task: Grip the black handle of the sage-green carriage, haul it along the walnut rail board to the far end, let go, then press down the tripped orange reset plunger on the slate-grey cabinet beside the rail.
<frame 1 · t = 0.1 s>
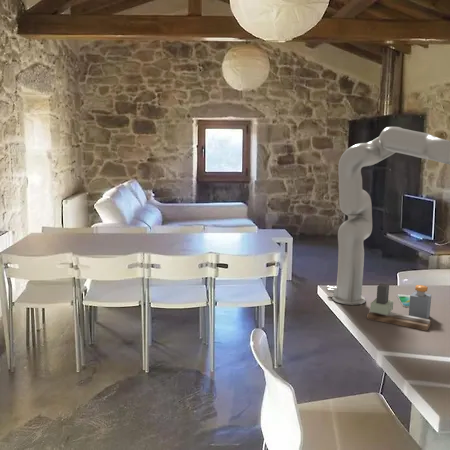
reset plunger: (421, 293, 186), point 8 cm above the table, slide at 0.0 cm
carriage: (382, 298, 185), point 7 cm above the table, slide at 0.0 cm
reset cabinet: (419, 316, 188), on the table
rail board: (398, 321, 183), on the table
smartphone: (408, 302, 205), on the table
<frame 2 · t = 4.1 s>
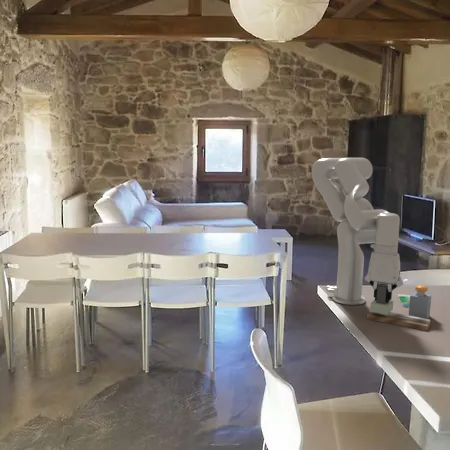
hand: (382, 300, 185), 7 cm above the table, fingers closed on carriage, 3 cm apart
carriage: (382, 298, 185), point 7 cm above the table, slide at 0.0 cm, touching gripper
everything else where it was.
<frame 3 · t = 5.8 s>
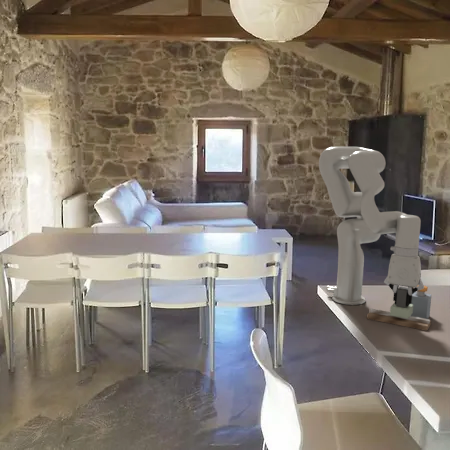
hand: (402, 303, 181), 7 cm above the table, fingers closed on carriage, 3 cm apart
carriage: (402, 301, 181), point 7 cm above the table, slide at 6.8 cm, touching gripper
everything else where it was.
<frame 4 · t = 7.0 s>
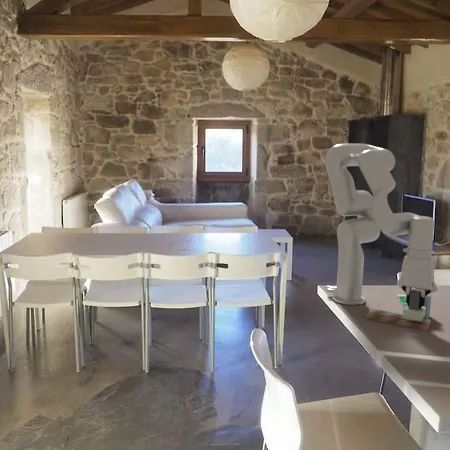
hand: (415, 306, 179), 6 cm above the table, fingers closed on carriage, 3 cm apart
carriage: (415, 303, 179), point 7 cm above the table, slide at 11.0 cm, touching gripper
everything else where it was.
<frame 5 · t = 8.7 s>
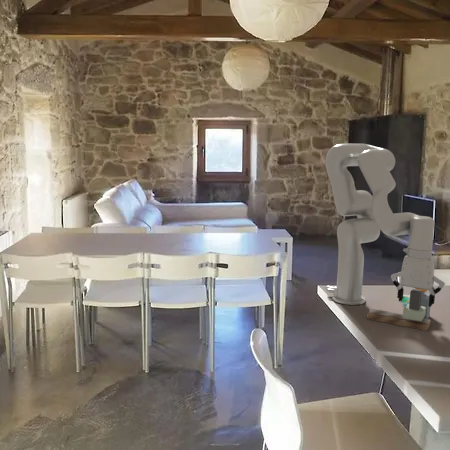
hand: (415, 302, 179), 8 cm above the table, fingers open, 9 cm apart
carriage: (415, 303, 179), point 7 cm above the table, slide at 11.0 cm
everything else where it was.
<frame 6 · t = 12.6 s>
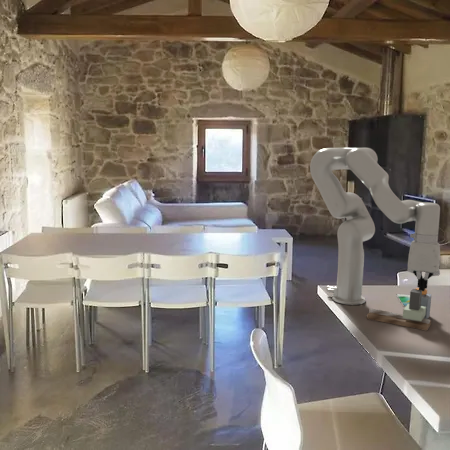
hand: (422, 289, 186), 10 cm above the table, fingers closed
reset plunger: (420, 296, 187), point 7 cm above the table, slide at 1.1 cm, touching gripper
everything else where it was.
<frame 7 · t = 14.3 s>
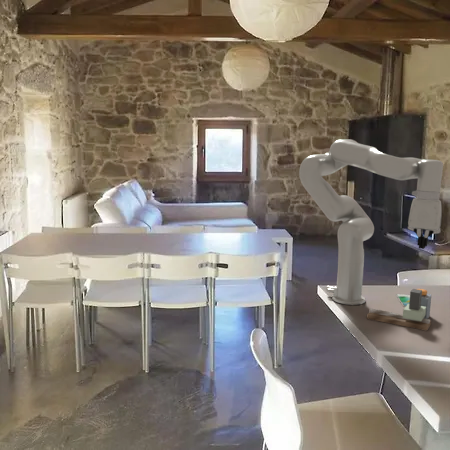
hand: (421, 247, 185), 25 cm above the table, fingers closed
reset plunger: (420, 297, 187), point 7 cm above the table, slide at 1.4 cm
everything else where it was.
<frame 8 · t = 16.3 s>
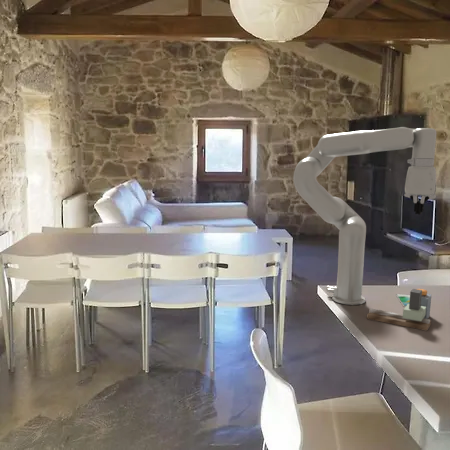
hand: (418, 213, 193), 35 cm above the table, fingers closed
nothing on the table moved.
at the end: carriage slide at 11.0 cm; reset plunger slide at 1.4 cm; the gripper is holding nothing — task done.
